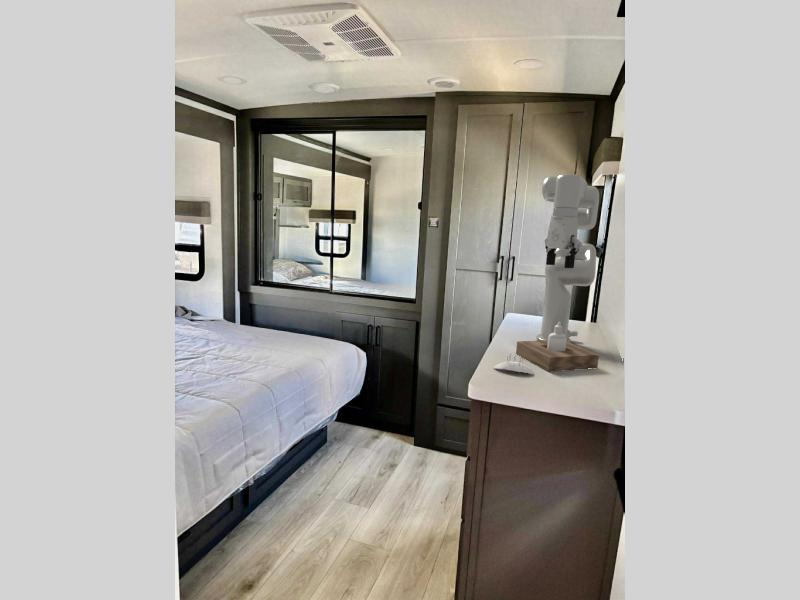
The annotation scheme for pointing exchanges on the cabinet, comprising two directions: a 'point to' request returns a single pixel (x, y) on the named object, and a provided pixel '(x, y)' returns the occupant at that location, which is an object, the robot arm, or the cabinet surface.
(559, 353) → the walnut socket block
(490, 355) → the cabinet surface
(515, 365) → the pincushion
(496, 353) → the cabinet surface
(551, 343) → the eye dropper bottle
